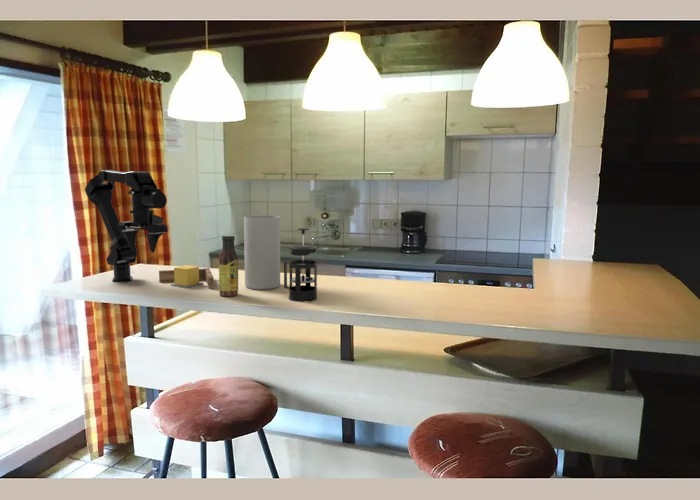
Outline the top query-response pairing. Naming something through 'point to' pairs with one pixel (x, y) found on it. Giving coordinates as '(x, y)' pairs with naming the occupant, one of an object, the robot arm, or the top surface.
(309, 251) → the french press
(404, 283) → the top surface
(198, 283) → the pad
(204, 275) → the corner arena
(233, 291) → the sauce bottle
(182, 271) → the ochre cube
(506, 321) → the top surface
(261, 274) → the cylinder vase
